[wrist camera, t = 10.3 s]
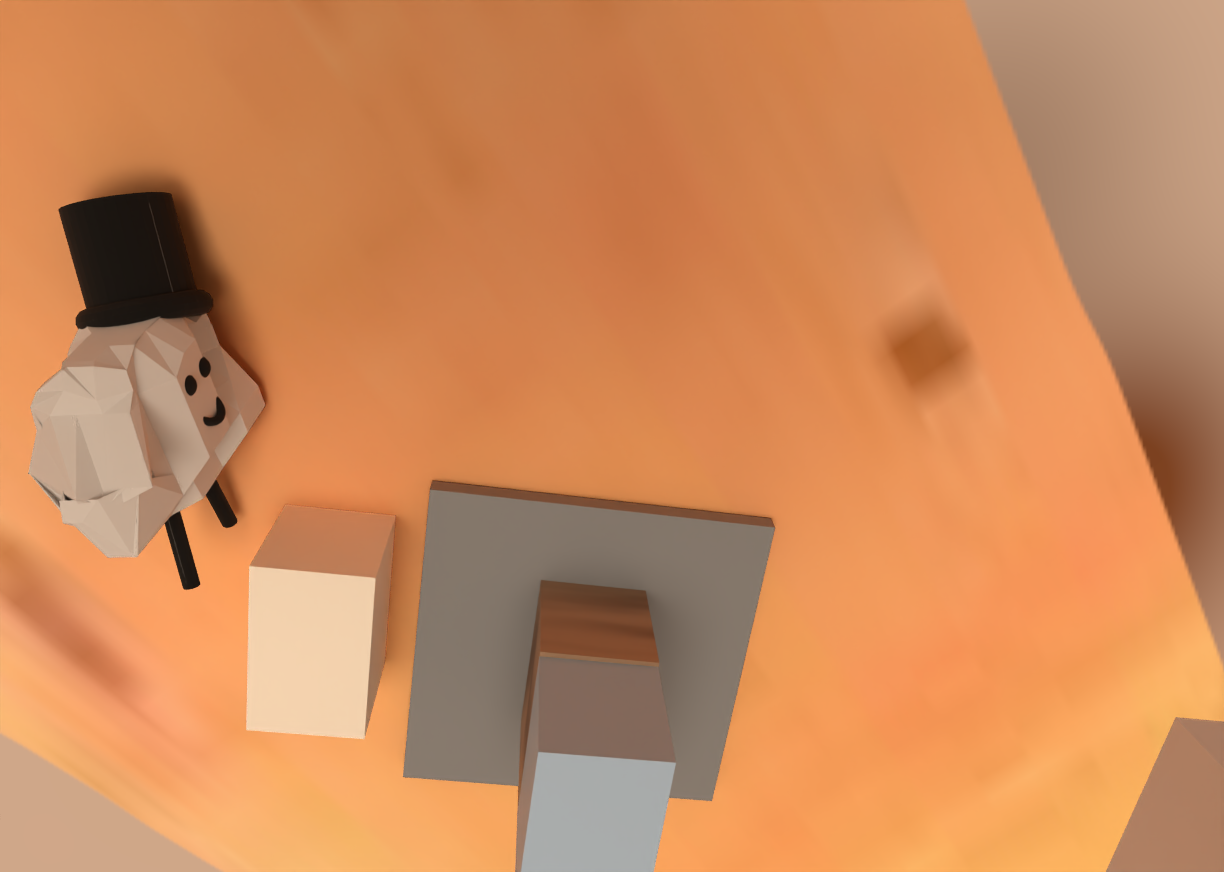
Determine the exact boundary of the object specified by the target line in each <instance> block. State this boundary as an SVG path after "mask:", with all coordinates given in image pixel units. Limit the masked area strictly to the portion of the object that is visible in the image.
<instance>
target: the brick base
mask: <svg viewBox="0 0 1224 872" xmlns="http://www.w3.org/2000/svg"><path fill="white" fill-rule="evenodd" d="M539 656H541V657H552V658H563V659H574V660H586V661H597V662H608V663H619V664H631V665H642V666H653V667H658V668H659V658H658V653H657V648H656V642H655V637H654V632H653V627H652V621H651V616H650V611H649V605H648V600H647V595H646V591H645V590H635V589H625V588H615V587H605V586H596V585H586V584H576V583H566V582H556V581H546V580H541V583H540V590H539V597H538V604H537V611H536V618H535V625H534V632H533V639H532V646H531V653H530V660H529V667H528V674H527V682H526V689H525V696H524V703H523V710H522V717H521V732H520V758H519V785H518V804H519V797H520V790H521V783H522V776H523V769H524V761H525V754H526V747H527V740H528V733H529V726H530V719H531V712H532V704H533V697H534V690H535V683H536V676H537V669H538V662H539Z"/></svg>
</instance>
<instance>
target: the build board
mask: <svg viewBox="0 0 1224 872" xmlns="http://www.w3.org/2000/svg"><path fill="white" fill-rule="evenodd" d="M774 530H775V526H774V524H773V522H772V520H771V518H763V517H754V516H745V515H736V514H727V513H718V512H709V511H700V510H691V509H682V508H673V507H665V506H656V505H647V504H638V503H629V502H620V501H611V500H602V499H593V498H584V497H575V496H566V495H557V494H548V493H539V492H530V491H521V490H512V489H503V488H494V487H485V486H476V485H467V484H458V483H449V482H440V481H432V484H431V488H430V496H429V507H428V518H427V528H426V539H425V549H424V560H423V571H422V581H421V592H420V603H419V613H418V624H417V635H416V645H415V656H414V666H413V677H412V688H411V698H410V709H409V720H408V730H407V741H406V752H405V762H404V773H403V777H409V778H422V779H435V780H448V781H461V782H474V783H487V784H499V785H512V786H518V785H519V758H520V732H521V717H522V710H523V703H524V696H525V689H526V682H527V674H528V667H529V660H530V653H531V646H532V639H533V632H534V625H535V618H536V611H537V604H538V597H539V590H540V583H541V580H546V581H556V582H566V583H576V584H586V585H596V586H605V587H615V588H625V589H635V590H645V591H646V595H647V600H648V605H649V611H650V616H651V621H652V627H653V632H654V637H655V642H656V648H657V653H658V658H659V668H658V669H659V674H660V679H661V685H662V690H663V695H664V701H665V706H666V711H667V717H668V722H669V727H670V733H671V738H672V744H673V749H674V754H675V760H676V766H675V770H674V775H673V780H672V785H671V790H670V795H669V798H680V799H693V800H706V801H712V798H713V794H714V790H715V785H716V781H717V777H718V772H719V768H720V764H721V759H722V755H723V751H724V746H725V742H726V738H727V734H728V729H729V725H730V721H731V716H732V712H733V708H734V703H735V699H736V695H737V690H738V686H739V682H740V677H741V673H742V669H743V664H744V660H745V656H746V651H747V647H748V643H749V638H750V634H751V630H752V625H753V621H754V617H755V612H756V608H757V604H758V600H759V595H760V591H761V587H762V582H763V578H764V574H765V569H766V565H767V561H768V556H769V552H770V548H771V543H772V539H773V535H774Z"/></svg>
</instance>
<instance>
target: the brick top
mask: <svg viewBox="0 0 1224 872" xmlns="http://www.w3.org/2000/svg"><path fill="white" fill-rule="evenodd" d="M675 766H676V760H675V754H674V749H673V744H672V738H671V733H670V727H669V722H668V717H667V711H666V706H665V701H664V695H663V690H662V685H661V679H660V674H659V669H658V667H653V666H642V665H631V664H619V663H608V662H597V661H586V660H574V659H563V658H552V657H541V656H539V662H538V669H537V676H536V683H535V690H534V697H533V704H532V712H531V719H530V726H529V733H528V740H527V747H526V754H525V761H524V769H523V776H522V783H521V790H520V797H519V804H518V813H517V840H516V867H515V872H654V867H655V862H656V858H657V853H658V848H659V843H660V838H661V833H662V828H663V824H664V819H665V814H666V809H667V804H668V799H669V795H670V790H671V785H672V780H673V775H674V770H675Z"/></svg>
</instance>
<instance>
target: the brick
mask: <svg viewBox="0 0 1224 872" xmlns="http://www.w3.org/2000/svg"><path fill="white" fill-rule="evenodd" d="M395 521H396V515H386V514H376V513H366V512H357V511H347V510H337V509H327V508H317V507H307V506H298V505H288V504H285V506H284V508H283V509H282V511H281V513H280V515H279V516H278V518H277V520H276V521H275V523H274V525H273V527H272V528H271V530H270V532H269V533H268V535H267V537H266V539H265V540H264V542H263V544H262V545H261V547H260V549H259V551H258V552H257V554H256V556H255V557H254V559H253V561H252V562H251V564H250V566H249V616H248V671H247V727H246V730H253V731H266V732H279V733H292V734H306V735H319V736H332V737H345V738H358V739H365V735H366V731H367V727H368V724H369V720H370V716H371V712H372V709H373V705H374V701H375V697H376V693H377V690H378V686H379V682H380V678H381V675H382V671H383V667H384V663H385V654H386V641H387V628H388V614H389V601H390V588H391V574H392V561H393V548H394V534H395Z"/></svg>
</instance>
